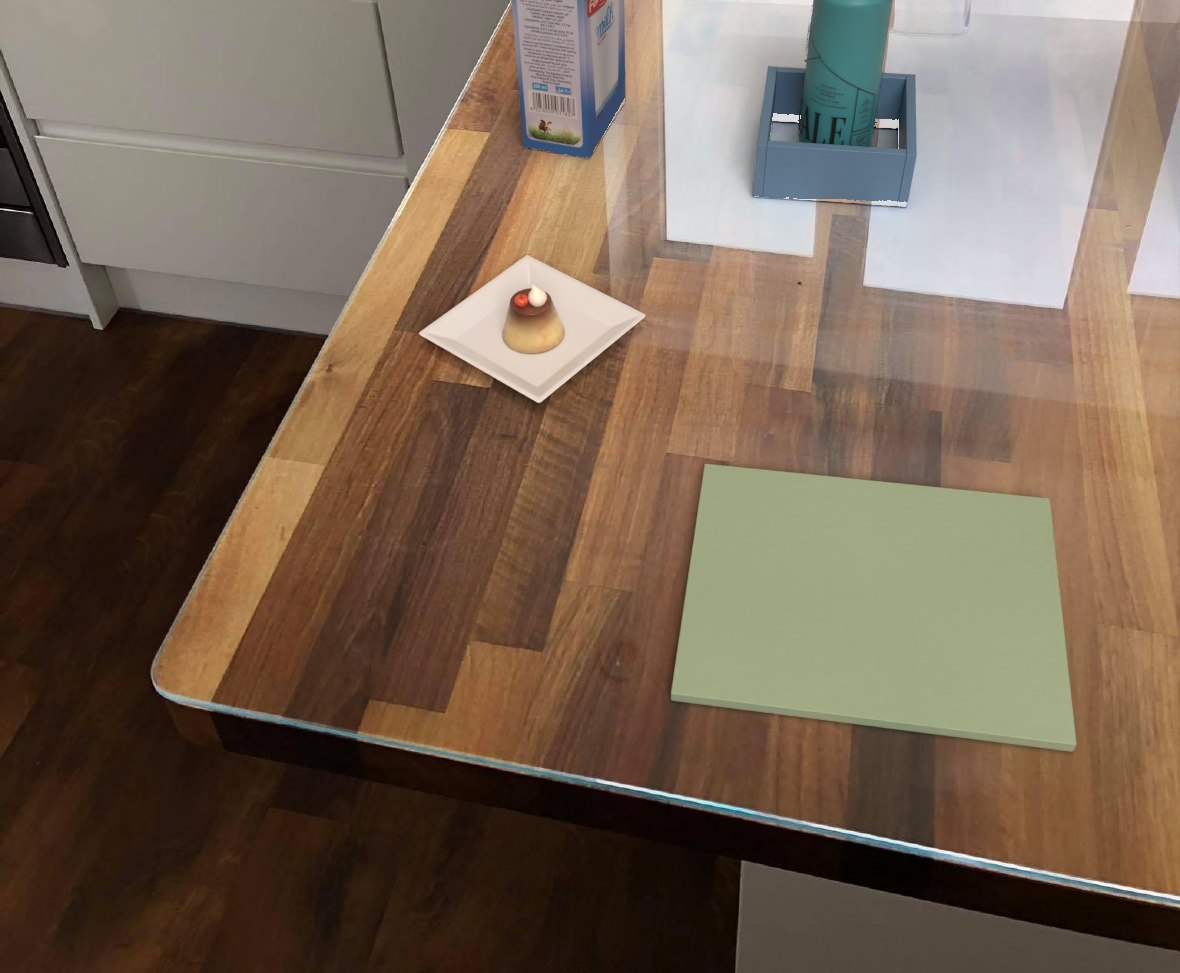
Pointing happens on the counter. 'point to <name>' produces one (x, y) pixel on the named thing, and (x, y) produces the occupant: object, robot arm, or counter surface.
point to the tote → (835, 148)
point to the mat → (876, 607)
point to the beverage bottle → (843, 71)
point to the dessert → (532, 327)
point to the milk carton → (569, 71)
